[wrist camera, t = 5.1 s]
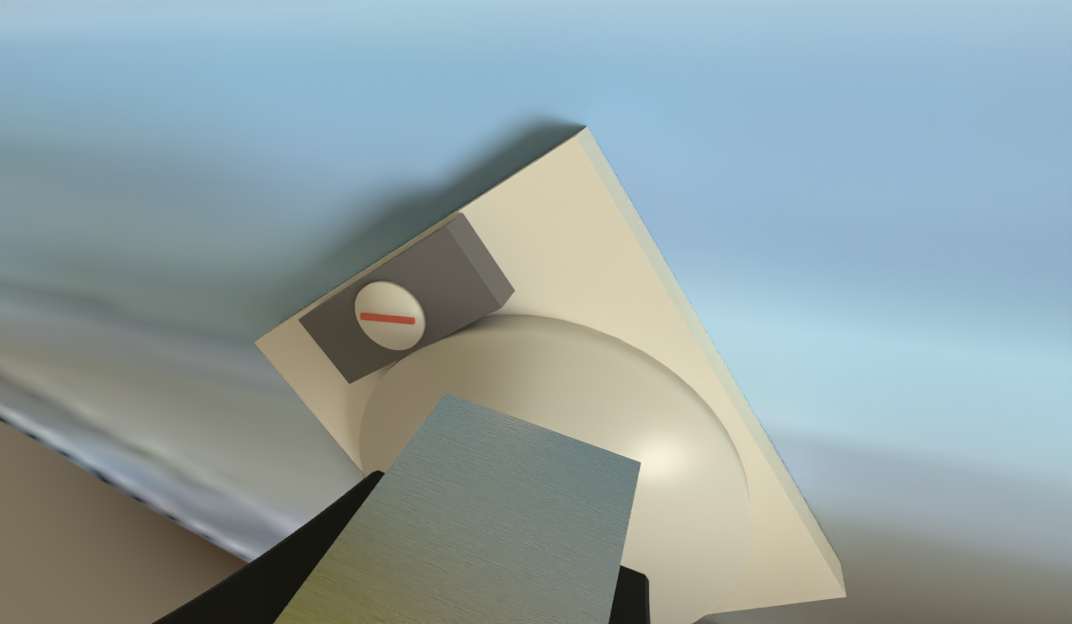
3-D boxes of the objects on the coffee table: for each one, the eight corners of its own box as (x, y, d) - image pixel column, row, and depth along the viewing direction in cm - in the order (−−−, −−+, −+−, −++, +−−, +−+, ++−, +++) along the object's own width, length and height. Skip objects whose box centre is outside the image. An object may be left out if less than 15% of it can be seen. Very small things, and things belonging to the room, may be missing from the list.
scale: (839, 562, 17) (854, 639, 15) (512, 612, 24) (490, 672, 21) (587, 126, 13) (560, 148, 11) (278, 325, 20) (224, 363, 18)
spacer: (641, 462, 11) (578, 765, 6) (591, 587, 13) (520, 878, 8) (445, 392, 11) (272, 626, 7) (429, 521, 13) (287, 761, 9)
